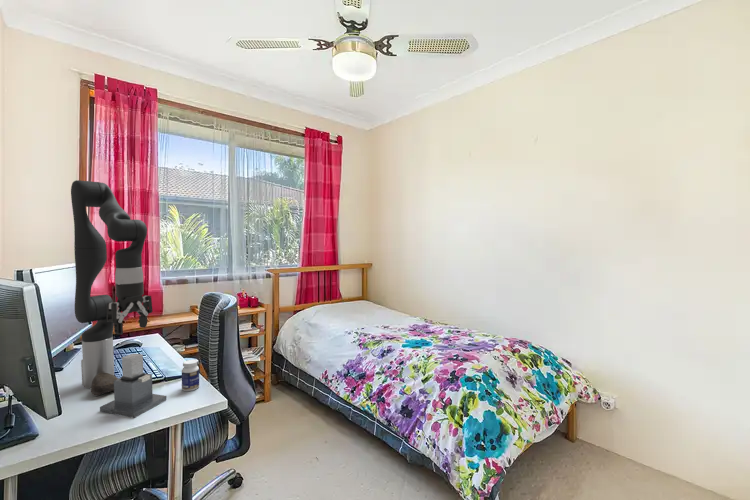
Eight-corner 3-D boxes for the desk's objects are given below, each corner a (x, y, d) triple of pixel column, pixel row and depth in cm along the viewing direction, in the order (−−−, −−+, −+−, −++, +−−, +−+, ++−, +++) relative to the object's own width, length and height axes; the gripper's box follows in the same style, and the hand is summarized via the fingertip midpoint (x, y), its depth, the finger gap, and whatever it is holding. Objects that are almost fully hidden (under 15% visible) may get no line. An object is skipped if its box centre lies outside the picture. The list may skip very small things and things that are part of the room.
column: (122, 402, 118) (120, 357, 117) (134, 396, 123) (133, 353, 122) (133, 404, 117) (131, 359, 116) (145, 398, 121) (144, 354, 121)
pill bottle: (192, 392, 130) (191, 365, 129) (178, 390, 131) (177, 363, 130) (202, 385, 135) (202, 359, 135) (189, 384, 137) (188, 358, 136)
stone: (108, 395, 135) (82, 382, 130) (127, 377, 137) (102, 363, 132) (106, 410, 127) (78, 397, 122) (126, 390, 129) (99, 377, 124)
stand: (99, 411, 116) (98, 380, 115) (133, 395, 128) (132, 366, 127) (134, 417, 112) (133, 385, 112) (166, 400, 124) (165, 370, 123)
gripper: (139, 278, 125) (141, 324, 126) (98, 284, 112) (101, 335, 113) (157, 278, 123) (159, 325, 124) (117, 285, 110) (119, 337, 111)
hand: (131, 330), depth 119 cm, fingers open, 8 cm apart
